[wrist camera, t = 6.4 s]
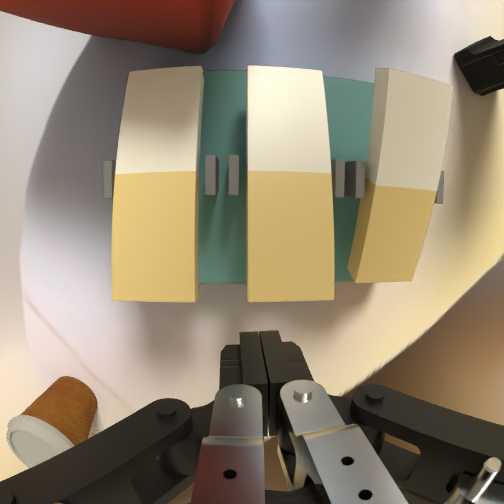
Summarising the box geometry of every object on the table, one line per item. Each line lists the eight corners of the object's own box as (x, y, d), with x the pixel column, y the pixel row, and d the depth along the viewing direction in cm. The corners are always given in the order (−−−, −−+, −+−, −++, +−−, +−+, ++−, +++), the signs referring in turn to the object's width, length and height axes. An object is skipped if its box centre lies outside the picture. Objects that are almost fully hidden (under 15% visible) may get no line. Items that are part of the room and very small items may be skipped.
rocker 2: (246, 80, 20) (247, 65, 18) (315, 84, 21) (321, 70, 19) (246, 298, 20) (248, 302, 18) (324, 296, 20) (334, 299, 18)
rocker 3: (375, 68, 17) (389, 68, 15) (436, 83, 17) (453, 86, 15) (347, 268, 24) (355, 283, 23) (401, 267, 25) (411, 281, 23)
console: (142, 91, 26) (104, 56, 16) (386, 101, 28) (443, 78, 18) (144, 270, 30) (108, 311, 20) (380, 268, 32) (433, 303, 22)
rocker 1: (136, 85, 20) (129, 71, 18) (203, 80, 20) (201, 65, 18) (123, 296, 19) (112, 300, 17) (198, 298, 20) (195, 302, 18)
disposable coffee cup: (56, 351, 32) (8, 409, 20) (120, 396, 34) (90, 467, 22) (38, 393, 33) (-1, 447, 21) (94, 432, 35) (67, 494, 23)
